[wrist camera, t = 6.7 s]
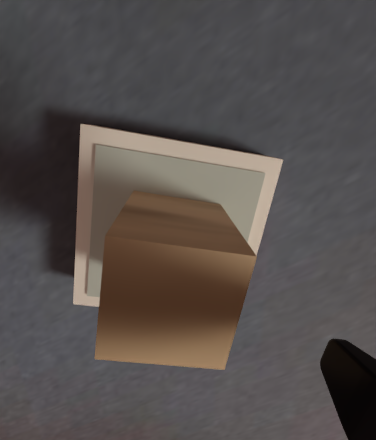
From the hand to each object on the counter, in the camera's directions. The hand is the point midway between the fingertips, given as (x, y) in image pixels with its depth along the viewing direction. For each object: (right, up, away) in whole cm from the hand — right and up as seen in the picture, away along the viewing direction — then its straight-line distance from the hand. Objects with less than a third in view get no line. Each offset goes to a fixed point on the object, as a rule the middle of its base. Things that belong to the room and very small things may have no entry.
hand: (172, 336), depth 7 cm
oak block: (0, +2, +7) cm, 7 cm away
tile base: (-1, +3, +10) cm, 10 cm away
